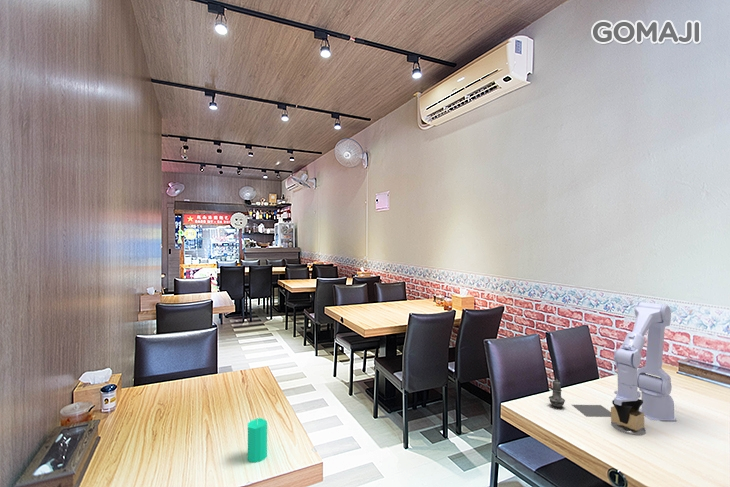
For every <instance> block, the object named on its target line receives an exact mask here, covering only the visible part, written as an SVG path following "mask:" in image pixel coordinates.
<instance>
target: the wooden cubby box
mask: <svg viewBox="0 0 730 487" xmlns="http://www.w3.org/2000/svg"><path fill="white" fill-rule="evenodd" d="M610 412H611V417H610V422H611V421H612V422H615V423H617V424H620V425H623V426H625V427H628V428H630V429H633V430H635V431H638V430H640V429H642V428H645V416H644V413H643V412H640V411H637V410H635V409H632V408H631V410H630V413H629V418H628V423H627V424H625V423H622V422H620V420H619V417H618V413H617V411H616V408H615V407H614V405H613V406H611V407H610Z"/></svg>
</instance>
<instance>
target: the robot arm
mask: <svg viewBox="0 0 730 487" xmlns="http://www.w3.org/2000/svg"><path fill="white" fill-rule="evenodd" d="M633 308H634V316H635V317H636V319H635V322H634V325H633V327H632V330H631V332H628V333H627V334H626V335H625V337H624V340H623V342H622V344H621V346H620V348H617V349H615V351H614V354H613V361H614V363H615V368H616V369H617V390H614V393H613V394H615V395H616V396H615V397H614V398H613V400H611V401H612V402H611V403H612V405H613V406H614V407H615V408H616V411H617V413H618V417H619V420H620V422H622V423H625V424H627V423H628V418H629V413H630V410H631V408H632V409H635V410H637V411H640V412H643V413H644V417H646V418H647V419H649V420H650V421H660V422H661V421H662V422H663V421H667V422H668V421H672V422H674V421H675V422H676V421H677V418H675V402H674V399H673V397H672V396H671V395H670V394H671V392H672V387H673V386H672V380H671V376H670V375H669V374H668V373H667V372H666V371H665V370H664V369H663V356H664V355H663V354H664V341H665V329H666V327H669V326H671V321H672V319H671V318H672V311H671V308H670V306H669V305H668V304H666V303H663V304H662V303H653V302H647V301H646V302H645V301H642V300H641V301H640V300H639V301H637V302H636V303H635V305H634V307H633ZM646 333H647V342H646V339H645V335H646ZM645 344H646V352H645V353H646V354H645V365H644V366H642V367H640V365H641V361H642V350H643V349H644V347H645ZM640 398H641V399H640ZM640 408H641V409H640Z"/></svg>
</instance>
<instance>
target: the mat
mask: <svg viewBox="0 0 730 487" xmlns="http://www.w3.org/2000/svg"><path fill="white" fill-rule="evenodd" d="M571 406H572V407H573V408H575V410H577V411H579V412H580V413H581V414H582V415H584V416H585V417H589V418H590V417H591V418H593V417H594V418H611V410H608V408H606V407H604V406H603V405H601V404H571Z"/></svg>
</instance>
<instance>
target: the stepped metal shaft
mask: <svg viewBox="0 0 730 487" xmlns="http://www.w3.org/2000/svg"><path fill="white" fill-rule="evenodd" d="M561 385H562V383H561V381H559V380H558V378H555V380H553V381H552V388H551V390H552V395H550V396H548V399H549V402H550V403H551V405H550V407H551V408H552V409H554V410H555V409H556V410H563V409H564V407H563V406H564V404H565V402H566V399H564V398H563V397H562V389H561V388H562V386H561Z"/></svg>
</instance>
